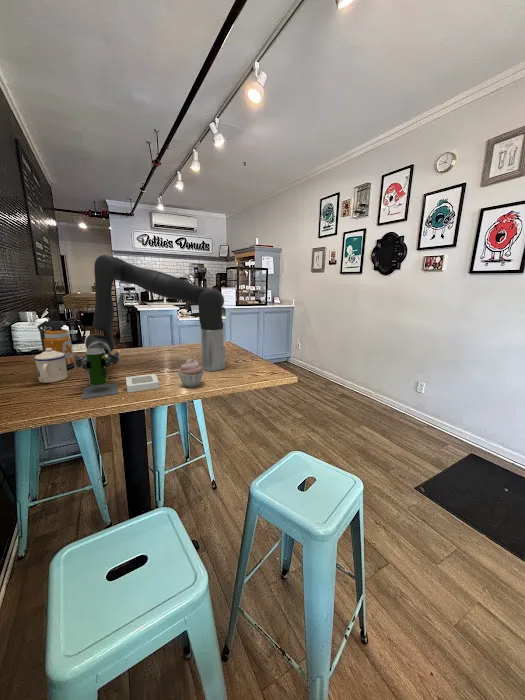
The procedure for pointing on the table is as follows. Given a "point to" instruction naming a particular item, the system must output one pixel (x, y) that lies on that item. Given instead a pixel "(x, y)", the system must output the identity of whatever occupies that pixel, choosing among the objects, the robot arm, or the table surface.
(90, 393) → the mat
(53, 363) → the teacup with lid
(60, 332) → the canister
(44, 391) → the table surface
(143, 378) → the collar
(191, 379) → the cupcake
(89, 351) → the beer can
